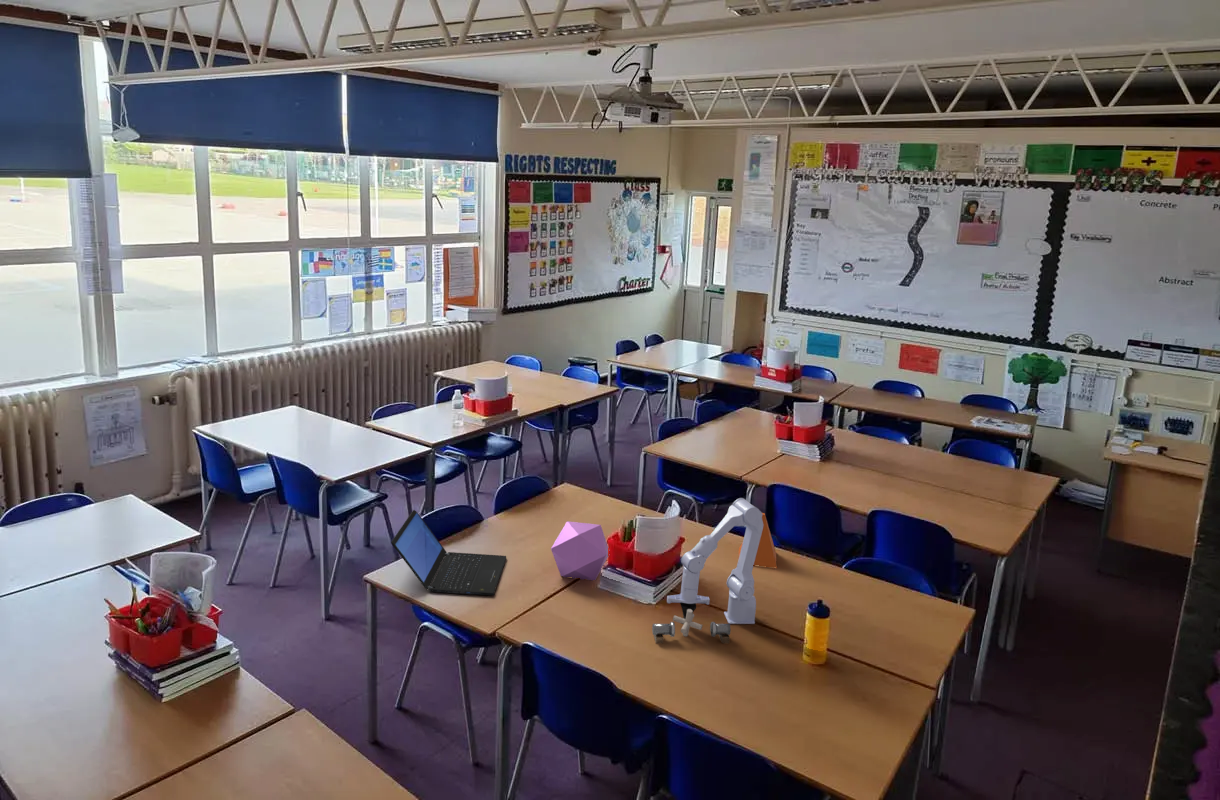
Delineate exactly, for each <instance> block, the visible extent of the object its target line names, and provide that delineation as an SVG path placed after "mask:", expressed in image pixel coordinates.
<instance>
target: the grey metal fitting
mask: <svg viewBox="0 0 1220 800" xmlns="http://www.w3.org/2000/svg"><path fill="white" fill-rule="evenodd" d="M651 627H652V628H651V629H652V635H653V638H654V642H655V644H664V636H670V637H673V638H675V635H676V625H675V621H670V622H669V623H652V626H651Z"/></svg>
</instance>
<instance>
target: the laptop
mask: <svg viewBox="0 0 1220 800" xmlns="http://www.w3.org/2000/svg"><path fill="white" fill-rule="evenodd" d="M391 545H392V546H393V548H394V549H395V550H396V552H397V554H399V555H400V557H401V558H402V559H403V561H404V562H405V563H406V565H407V566H408V567H409V569H410V570H411V571H412V573H413V574H414V575H415V577H416V579H418V580H419V582H420V583H421V585H422V586H423V587H424V589H425V590H426V591H429V592H433V593H448V594H449V593H450V594H465V595H477V596H478V595H479V596H480V595H481V596H483V595H484V596H494V595H495V593H496V590H497V589H496V588H497V586H498V583H499V581H500V578H501V577H502V572H503V568H504V566H505V564H506V561H507V556H506V555H500V554H499V555H498V554H482V553H469V552H467V553H466V552H453V551H449V552H447V551H446V549H445V548H444V546H443V545H442V543H441V542H440V541H439V539H438V538H437V537H436V535H435V534H434V532H433V531H432V530H431V528H430V527H429V526H428V524H427V523H426V522H425V520H424V519H423V518H422V516H421V515H420V514H419V513H418V512H417V510H415V509H412V511H411V513H410V514H409V516H408V517H407V518H406V520H405V521H404V522H403V525H401V527H400V529H399V530H398V531H397V532H396V535H395V536H394V537H393V539H392V540H391Z"/></svg>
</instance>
